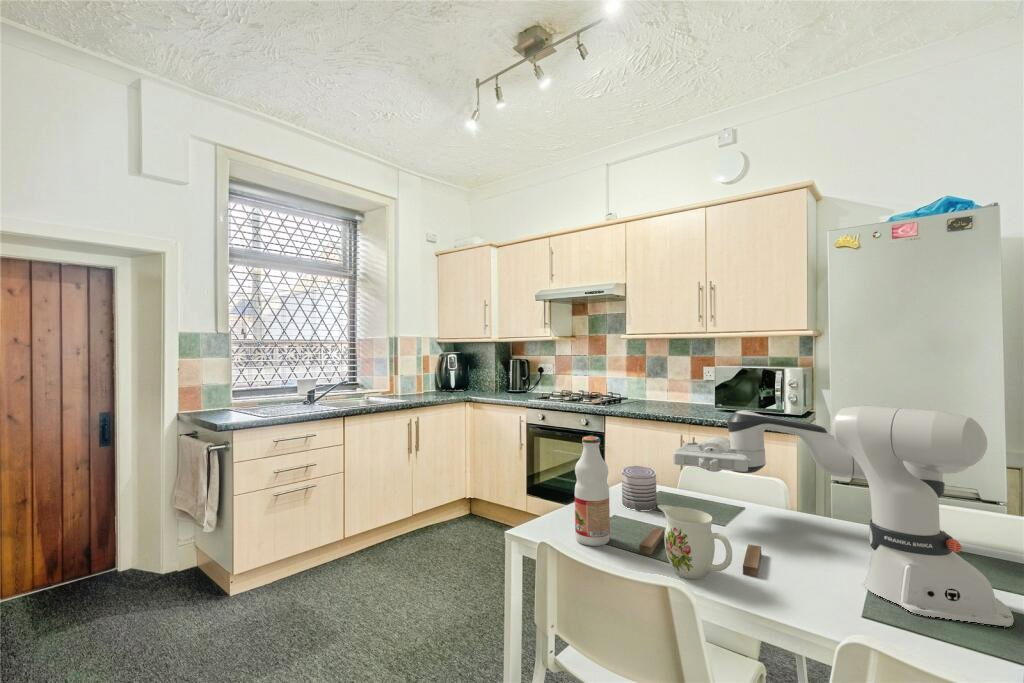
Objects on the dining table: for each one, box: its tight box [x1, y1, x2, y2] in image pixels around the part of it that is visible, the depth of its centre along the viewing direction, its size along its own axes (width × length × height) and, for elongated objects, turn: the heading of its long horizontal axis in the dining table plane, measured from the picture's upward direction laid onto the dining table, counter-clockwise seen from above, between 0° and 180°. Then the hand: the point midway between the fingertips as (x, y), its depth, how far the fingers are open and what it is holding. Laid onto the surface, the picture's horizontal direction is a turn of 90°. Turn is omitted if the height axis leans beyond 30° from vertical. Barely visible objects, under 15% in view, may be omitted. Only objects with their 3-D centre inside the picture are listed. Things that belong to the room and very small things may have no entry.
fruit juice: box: [574, 435, 611, 547], centre depth 130 cm, size 9×9×28 cm
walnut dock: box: [638, 527, 762, 578], centre depth 121 cm, size 27×14×2 cm, turn 59°
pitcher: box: [657, 504, 733, 580], centre depth 110 cm, size 11×18×14 cm, turn 40°
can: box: [620, 465, 658, 510], centre depth 159 cm, size 11×11×12 cm
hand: (706, 465), depth 132 cm, fingers closed
